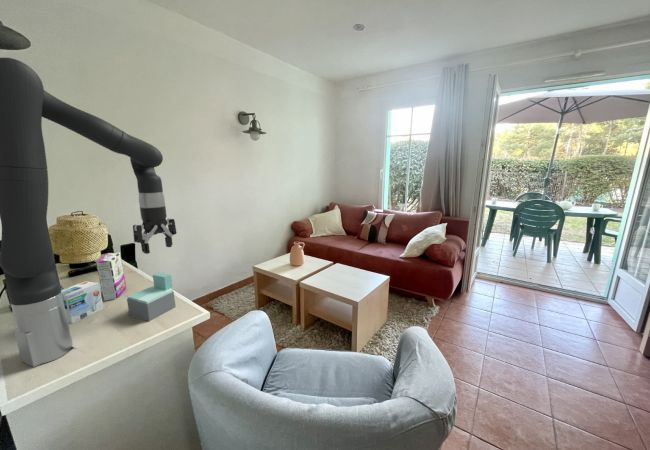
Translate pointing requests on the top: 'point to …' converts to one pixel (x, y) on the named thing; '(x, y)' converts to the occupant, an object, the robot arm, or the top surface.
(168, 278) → the lid
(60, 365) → the top surface
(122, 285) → the candy bar box
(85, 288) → the light bulb box
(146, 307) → the tub
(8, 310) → the top surface
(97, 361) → the top surface
